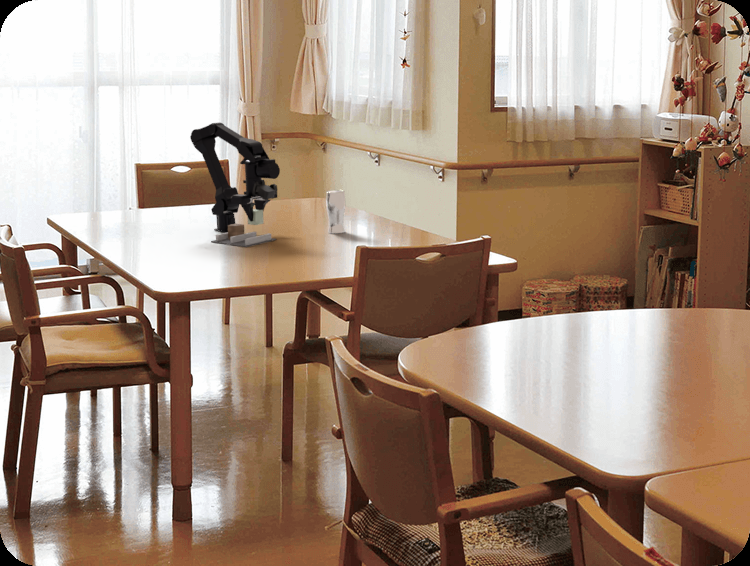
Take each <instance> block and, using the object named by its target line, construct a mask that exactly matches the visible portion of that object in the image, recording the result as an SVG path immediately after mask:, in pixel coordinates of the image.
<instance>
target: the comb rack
mask: <svg viewBox="0 0 750 566" xmlns="http://www.w3.org/2000/svg"><path fill="white" fill-rule="evenodd" d="M244 233H245V232H244ZM274 241H277V238H274V237H273V238H272V233H265V234H261V235H257V231H251V232H246V233H245V234H241V235H237V236H232V237H230V239H228V232H223V233H219V234H215V239H214V240H210V243H214V244H221V245H229V246H235V247H236V246H237V247H240V248H249V247H253V246H258V245H261V244H265V243H266V244H267V243H270V242H274Z"/></svg>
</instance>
